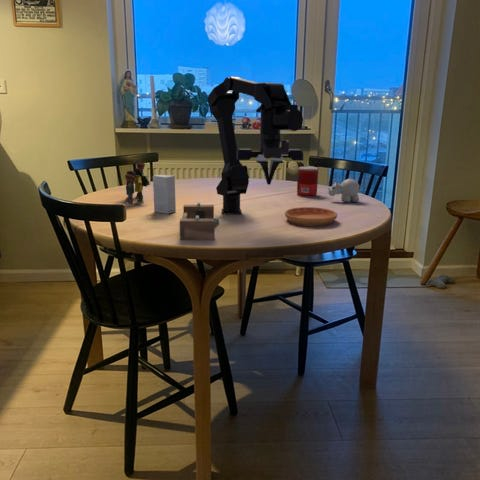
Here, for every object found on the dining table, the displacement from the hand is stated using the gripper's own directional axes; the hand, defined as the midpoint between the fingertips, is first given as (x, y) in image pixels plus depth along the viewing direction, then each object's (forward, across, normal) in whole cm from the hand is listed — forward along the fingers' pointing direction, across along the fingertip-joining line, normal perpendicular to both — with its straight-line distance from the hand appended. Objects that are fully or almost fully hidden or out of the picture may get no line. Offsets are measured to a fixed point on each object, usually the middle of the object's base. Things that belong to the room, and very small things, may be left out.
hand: (268, 184), depth 133 cm
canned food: (+12, +22, +48) cm, 54 cm away
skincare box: (+12, -32, +17) cm, 38 cm away
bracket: (+13, -18, -3) cm, 22 cm away
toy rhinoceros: (+12, +33, +35) cm, 50 cm away
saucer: (+12, +14, +4) cm, 19 cm away
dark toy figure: (+12, -44, +36) cm, 58 cm away
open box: (+12, -20, -6) cm, 24 cm away
